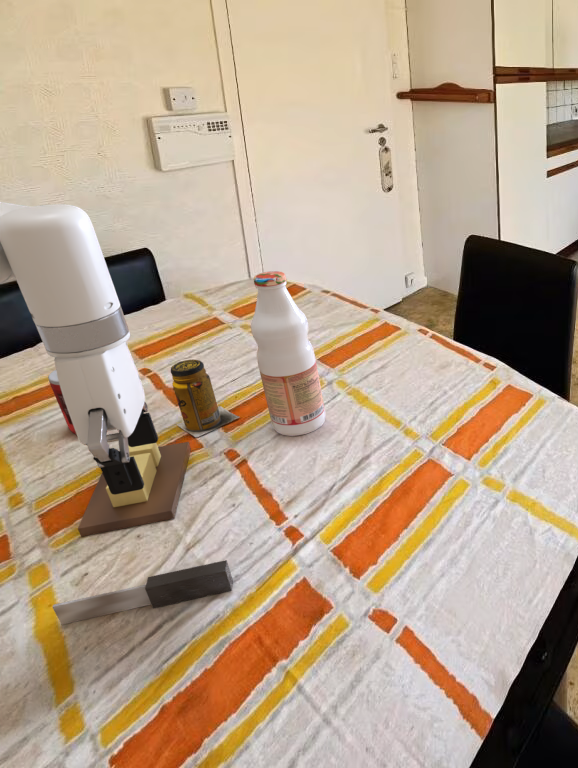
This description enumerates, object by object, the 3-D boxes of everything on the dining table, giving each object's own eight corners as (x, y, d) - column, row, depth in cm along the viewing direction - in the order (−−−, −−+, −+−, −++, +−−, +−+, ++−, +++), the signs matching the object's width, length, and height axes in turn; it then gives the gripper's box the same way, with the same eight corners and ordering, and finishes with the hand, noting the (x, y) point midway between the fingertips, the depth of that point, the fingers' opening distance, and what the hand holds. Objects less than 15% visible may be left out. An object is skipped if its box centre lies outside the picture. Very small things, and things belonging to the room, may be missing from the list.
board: (81, 536, 87) (77, 528, 87) (112, 462, 103) (109, 454, 103) (174, 518, 91) (171, 510, 90) (191, 448, 107) (188, 441, 106)
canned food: (105, 409, 119) (86, 357, 114) (126, 421, 115) (107, 368, 110) (61, 427, 113) (39, 373, 108) (82, 440, 109) (59, 385, 104)
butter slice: (126, 471, 98) (119, 453, 97) (130, 461, 101) (124, 443, 99) (158, 466, 100) (151, 448, 98) (161, 456, 102) (155, 438, 100)
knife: (59, 630, 73) (48, 609, 72) (64, 617, 75) (54, 597, 73) (231, 590, 78) (225, 570, 77) (232, 579, 80) (226, 559, 78)
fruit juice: (266, 438, 109) (229, 286, 96) (280, 411, 117) (248, 267, 104) (321, 435, 110) (292, 284, 96) (330, 408, 118) (305, 265, 105)
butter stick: (113, 507, 91) (105, 488, 89) (125, 476, 97) (118, 457, 96) (147, 501, 92) (140, 482, 90) (156, 470, 99) (150, 452, 97)
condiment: (176, 425, 113) (157, 366, 108) (220, 406, 119) (204, 349, 114) (196, 438, 109) (178, 378, 104) (240, 418, 115) (225, 360, 109)
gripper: (67, 306, 70) (116, 434, 78) (13, 372, 56) (80, 520, 64) (140, 297, 72) (181, 423, 80) (106, 358, 58) (161, 503, 66)
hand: (136, 465), depth 72 cm, fingers open, 9 cm apart
